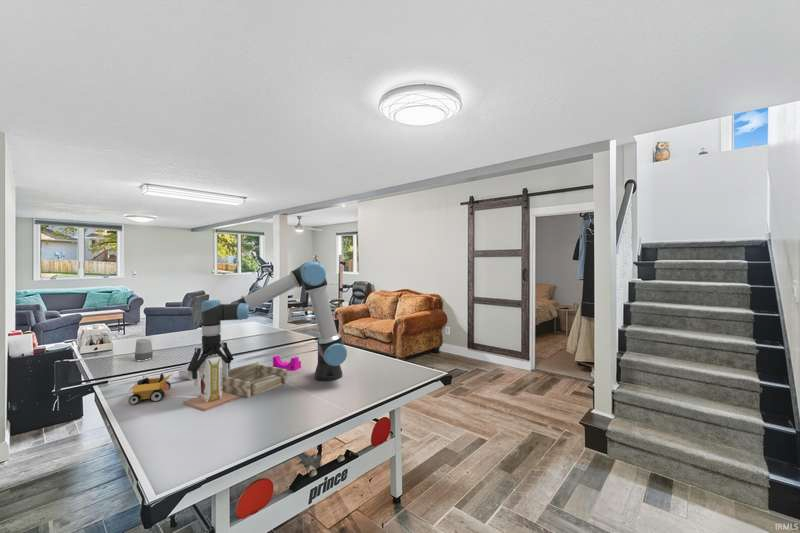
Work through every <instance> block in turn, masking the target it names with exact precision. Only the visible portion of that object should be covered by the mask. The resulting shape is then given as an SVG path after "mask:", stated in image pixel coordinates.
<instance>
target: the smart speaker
mask: <svg viewBox="0 0 800 533" xmlns="http://www.w3.org/2000/svg"><path fill="white" fill-rule="evenodd" d="M149 358H151V359H152V358H153V345H152V339H151V340H150V339H147V338H138V339H136V341H135V351H134V359H135V361H136V360H145V359H149Z"/></svg>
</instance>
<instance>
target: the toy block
mask: <svg viewBox="0 0 800 533" xmlns="http://www.w3.org/2000/svg"><path fill="white" fill-rule="evenodd" d="M272 367H276V368H282V369H287V371H291V372H292V371H294V372H296V371H297V370H300V369H301V368H302V361H301V360H300V358H299V356H294V357H290V361H289V362H288V361H282V360H281V357H280V355H274V356H272Z"/></svg>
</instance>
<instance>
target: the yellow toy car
mask: <svg viewBox="0 0 800 533" xmlns="http://www.w3.org/2000/svg"><path fill="white" fill-rule="evenodd" d="M172 375H173V373H170V374H168V375H166V376H164V373H160V375H159V377H156V378H149V377H146V373H145V374H143V375H142V379H139V380H138V381H135V383H134V385H133V386H132V387H131V388H130V389H129V392H130V391H132V395H131V396H129V398H128V399H127V400H128V401H127V402H128V404H130V405H132V404H135V405H137V404H138V403H139V402H140V401H141V400H148V399H150V401H151V402H153V403H156V402H157V403H159V402H160V401H162V400H163V398H164V397H165V395H167V393H168V392H169V390H170V389H171V382H169V381H168V380H169V379H170V378H171V376H172Z"/></svg>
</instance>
